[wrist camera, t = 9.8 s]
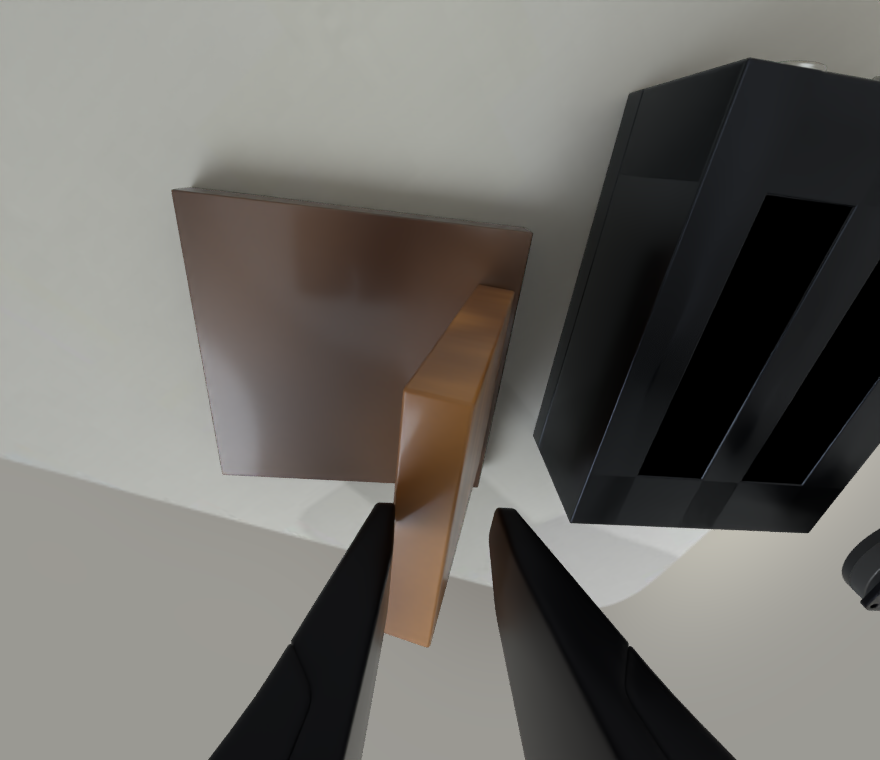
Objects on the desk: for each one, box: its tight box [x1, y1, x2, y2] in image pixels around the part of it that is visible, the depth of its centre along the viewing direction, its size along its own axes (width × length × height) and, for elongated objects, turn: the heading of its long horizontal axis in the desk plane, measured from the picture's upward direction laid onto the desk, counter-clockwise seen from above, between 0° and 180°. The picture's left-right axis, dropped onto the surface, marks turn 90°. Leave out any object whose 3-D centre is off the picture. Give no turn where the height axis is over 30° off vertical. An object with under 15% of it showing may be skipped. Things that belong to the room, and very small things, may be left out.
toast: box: [384, 285, 515, 647], centre depth 13 cm, size 1×8×8 cm, turn 173°
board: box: [172, 187, 533, 487], centre depth 17 cm, size 12×12×1 cm
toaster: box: [533, 58, 880, 533], centre depth 15 cm, size 10×15×6 cm, turn 173°
